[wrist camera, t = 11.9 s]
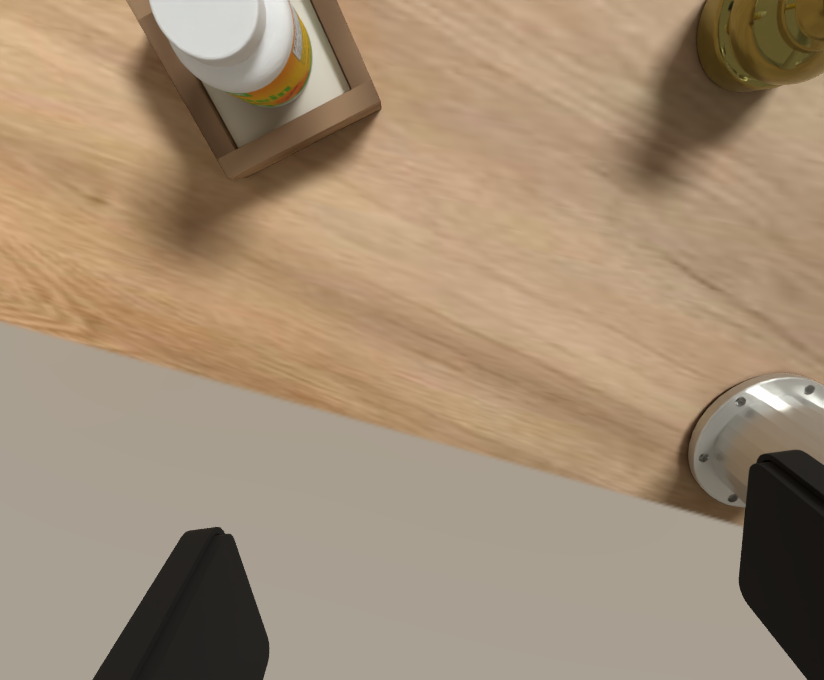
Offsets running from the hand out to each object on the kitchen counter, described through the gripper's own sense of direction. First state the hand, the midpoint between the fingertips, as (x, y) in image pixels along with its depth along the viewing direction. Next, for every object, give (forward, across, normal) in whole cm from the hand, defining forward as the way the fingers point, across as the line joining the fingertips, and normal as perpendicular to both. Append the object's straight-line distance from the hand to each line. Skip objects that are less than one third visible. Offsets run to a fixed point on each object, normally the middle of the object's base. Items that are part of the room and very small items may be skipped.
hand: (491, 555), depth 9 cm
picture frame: (+27, +8, -14) cm, 31 cm away
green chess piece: (+28, -22, -12) cm, 38 cm away
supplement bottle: (+24, +7, -14) cm, 29 cm away
